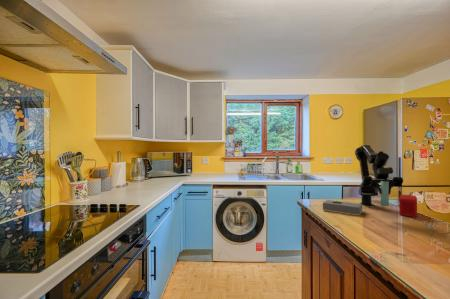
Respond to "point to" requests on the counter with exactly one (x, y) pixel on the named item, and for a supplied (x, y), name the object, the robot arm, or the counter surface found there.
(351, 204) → the socket block
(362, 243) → the counter surface
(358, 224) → the counter surface
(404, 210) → the decorative item
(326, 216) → the counter surface
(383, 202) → the peg
